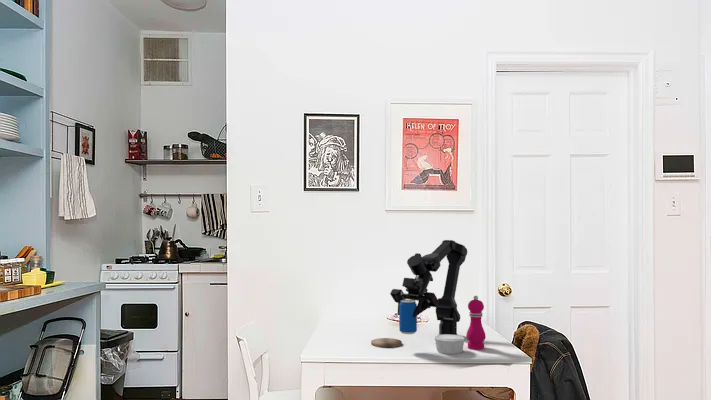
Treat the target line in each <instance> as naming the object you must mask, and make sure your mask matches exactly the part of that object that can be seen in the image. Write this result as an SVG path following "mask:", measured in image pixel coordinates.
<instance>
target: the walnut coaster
mask: <svg viewBox="0 0 711 400" xmlns="http://www.w3.org/2000/svg"><path fill="white" fill-rule="evenodd" d="M370 342H371V343H370V344H371V346H374V347H376V348H398V347H401V346H403V345H402V344H403V342H402V340H401V339H397V338H392V337H391V338H390V337H380V338H374V339H372V340H371V341H370Z"/></svg>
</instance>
